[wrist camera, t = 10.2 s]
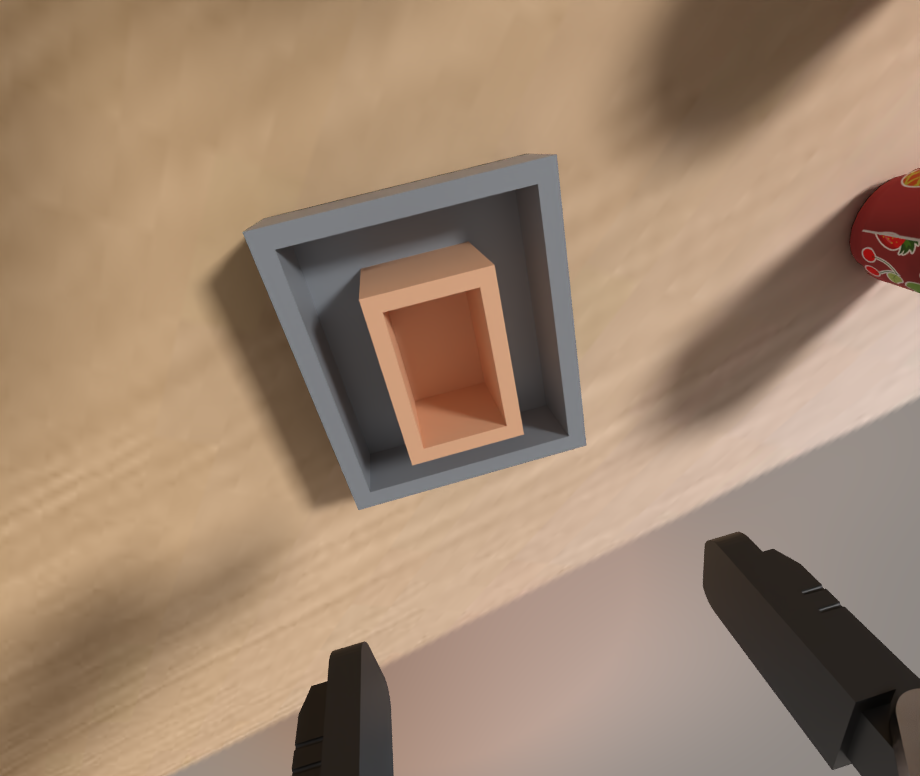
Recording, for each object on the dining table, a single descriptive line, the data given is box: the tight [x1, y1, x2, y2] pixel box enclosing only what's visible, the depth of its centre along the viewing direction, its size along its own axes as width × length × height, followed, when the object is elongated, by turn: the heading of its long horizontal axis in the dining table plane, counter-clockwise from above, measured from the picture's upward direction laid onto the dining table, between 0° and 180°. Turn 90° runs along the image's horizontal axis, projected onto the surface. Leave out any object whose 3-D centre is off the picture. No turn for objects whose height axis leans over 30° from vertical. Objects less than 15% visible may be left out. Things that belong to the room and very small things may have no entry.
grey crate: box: [243, 154, 586, 510], centre depth 26 cm, size 14×16×4 cm
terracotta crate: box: [359, 242, 524, 465], centre depth 25 cm, size 6×9×6 cm, turn 12°
